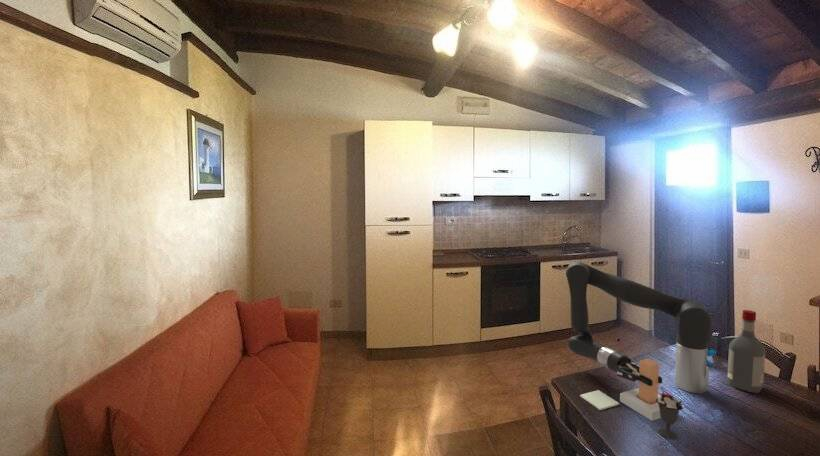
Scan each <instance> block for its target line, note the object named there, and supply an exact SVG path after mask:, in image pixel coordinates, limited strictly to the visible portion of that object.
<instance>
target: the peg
mask: <svg viewBox="0 0 820 456" xmlns="http://www.w3.org/2000/svg"><path fill="white" fill-rule="evenodd" d="M639 365H640V367H639V373H640V374H641V375H643V376H645V377H647V378H649V379H651V380H652V381H653V386H649V385H647V384H645V383H643V382H639V381H638V388H639V397H638V398H639V399H641V400H642V401H644V402H646V403H648V404H649V405H650V404H654V403H657V402H656V399H657V398H658V394H659V383H658V377H659V375H660V363H659V362H656V361H654V360H653V359H650V358H645V359H641V360H639Z"/></svg>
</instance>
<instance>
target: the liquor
mask: <svg viewBox="0 0 820 456" xmlns="http://www.w3.org/2000/svg"><path fill="white" fill-rule="evenodd" d="M741 318H742V327H741V333H740V335H738V336H736V337H735V338H733V339H732V340H731V341H730V342H729V345H728V359H727V360H728V361H727V362H728V363H727V376H726V377H727V378H726V382H727V383H728V385H730V386H731V387H732V386H733V387H732V388H734V387H735V388H734V389H737V388H738V389H737V390H740V389H742V390H741V391H743V390H745V391H744V392H746V391H748V392H747V393H749V392H755V393H754V394H759V393H760V392H761V391H762V389H763V387H764V378H765V364H766V363H765V362H766V347H765V345H764V344H763V343H762V342H761V341H760V340H759V339H758V338H757V337H756V334H755V321H756V320H757V312H756V311H754V310H751V309H750V310H749V309H742V317H741Z"/></svg>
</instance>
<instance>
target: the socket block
mask: <svg viewBox="0 0 820 456" xmlns="http://www.w3.org/2000/svg"><path fill="white" fill-rule="evenodd" d="M660 396H661V394H659V393H658V398H659V397H660ZM638 397H639V387H638V388H633V389H631V390H627V391H623V392H620V393H619V402H621V403H622V404H623V405H626V406H627V407H629V408H630V409H632V410H634V411H636V412H637V413H638V414H640V415H642V416H643V417H645V418H646V419H648V420H650V421H651V422H653V421H656V420H658V419H661V417H660V410H659V404H658V403H654V404H650V405H649V404H648V403H646V402H644V401H642V400H641V399H639V398H638Z"/></svg>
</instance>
